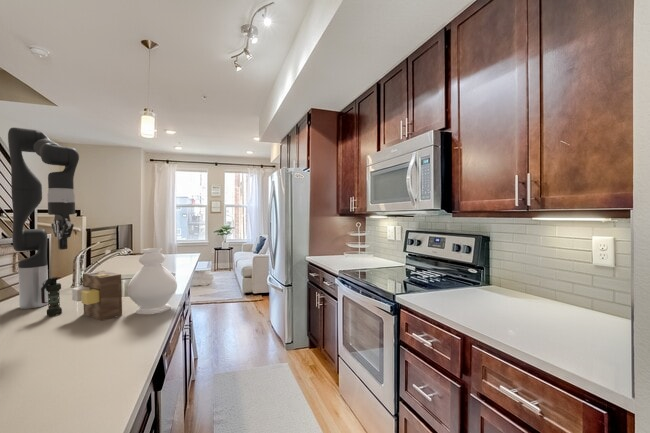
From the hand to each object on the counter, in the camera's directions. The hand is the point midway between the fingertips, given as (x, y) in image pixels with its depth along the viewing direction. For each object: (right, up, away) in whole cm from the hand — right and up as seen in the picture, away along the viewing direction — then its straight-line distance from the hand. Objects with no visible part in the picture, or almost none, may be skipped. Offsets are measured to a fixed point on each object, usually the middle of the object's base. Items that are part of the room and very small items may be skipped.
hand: (63, 249), depth 113 cm
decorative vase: (+24, -27, +15) cm, 39 cm away
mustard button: (+9, -20, +4) cm, 22 cm away
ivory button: (+2, -20, +8) cm, 22 cm away
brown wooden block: (+8, -27, +10) cm, 29 cm away
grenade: (-13, -27, +10) cm, 32 cm away
